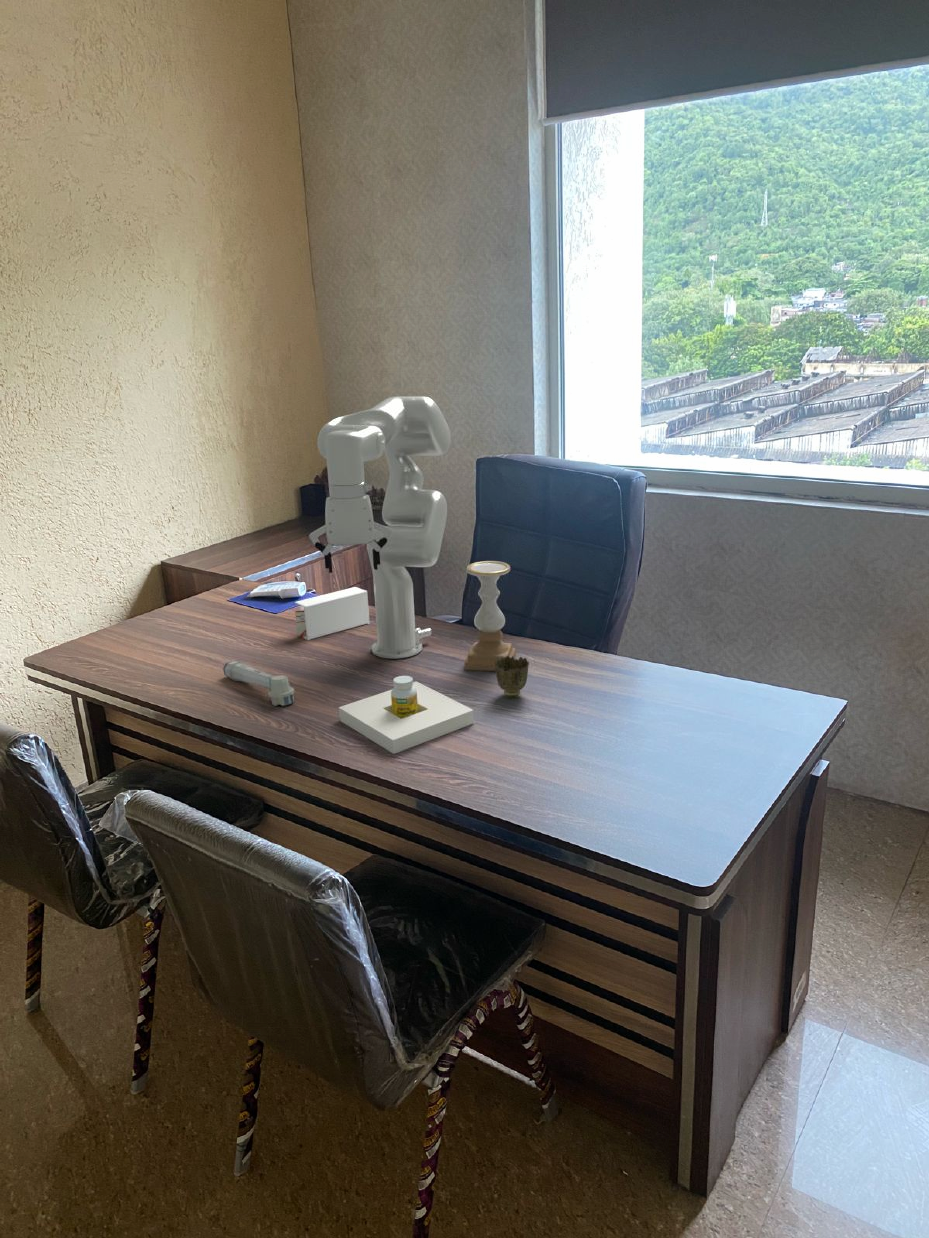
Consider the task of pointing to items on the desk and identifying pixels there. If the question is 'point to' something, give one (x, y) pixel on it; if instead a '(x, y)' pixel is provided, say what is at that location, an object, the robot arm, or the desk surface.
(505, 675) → the cup
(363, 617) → the white box
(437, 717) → the hole board
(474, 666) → the candle holder
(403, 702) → the supplement bottle
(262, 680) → the toothbrush head
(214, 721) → the desk surface
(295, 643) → the desk surface
